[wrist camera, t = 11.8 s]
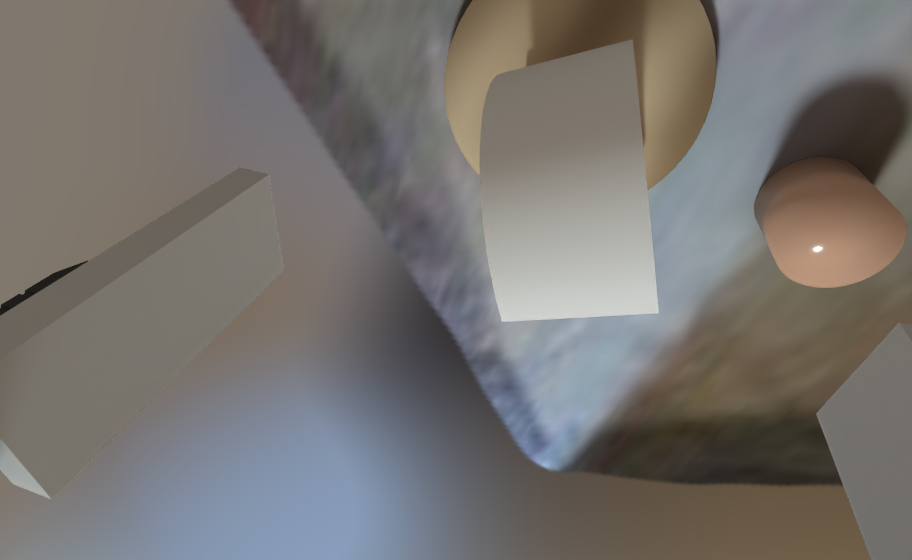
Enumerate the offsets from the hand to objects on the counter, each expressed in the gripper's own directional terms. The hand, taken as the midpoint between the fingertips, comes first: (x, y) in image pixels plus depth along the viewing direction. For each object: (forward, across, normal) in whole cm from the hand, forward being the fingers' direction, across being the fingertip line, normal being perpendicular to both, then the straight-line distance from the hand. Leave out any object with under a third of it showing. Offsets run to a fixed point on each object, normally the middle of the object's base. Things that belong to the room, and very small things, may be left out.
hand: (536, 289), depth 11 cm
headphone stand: (+15, 0, 0) cm, 15 cm away
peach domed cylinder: (+16, -11, +3) cm, 20 cm away
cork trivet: (+16, +1, 0) cm, 16 cm away
